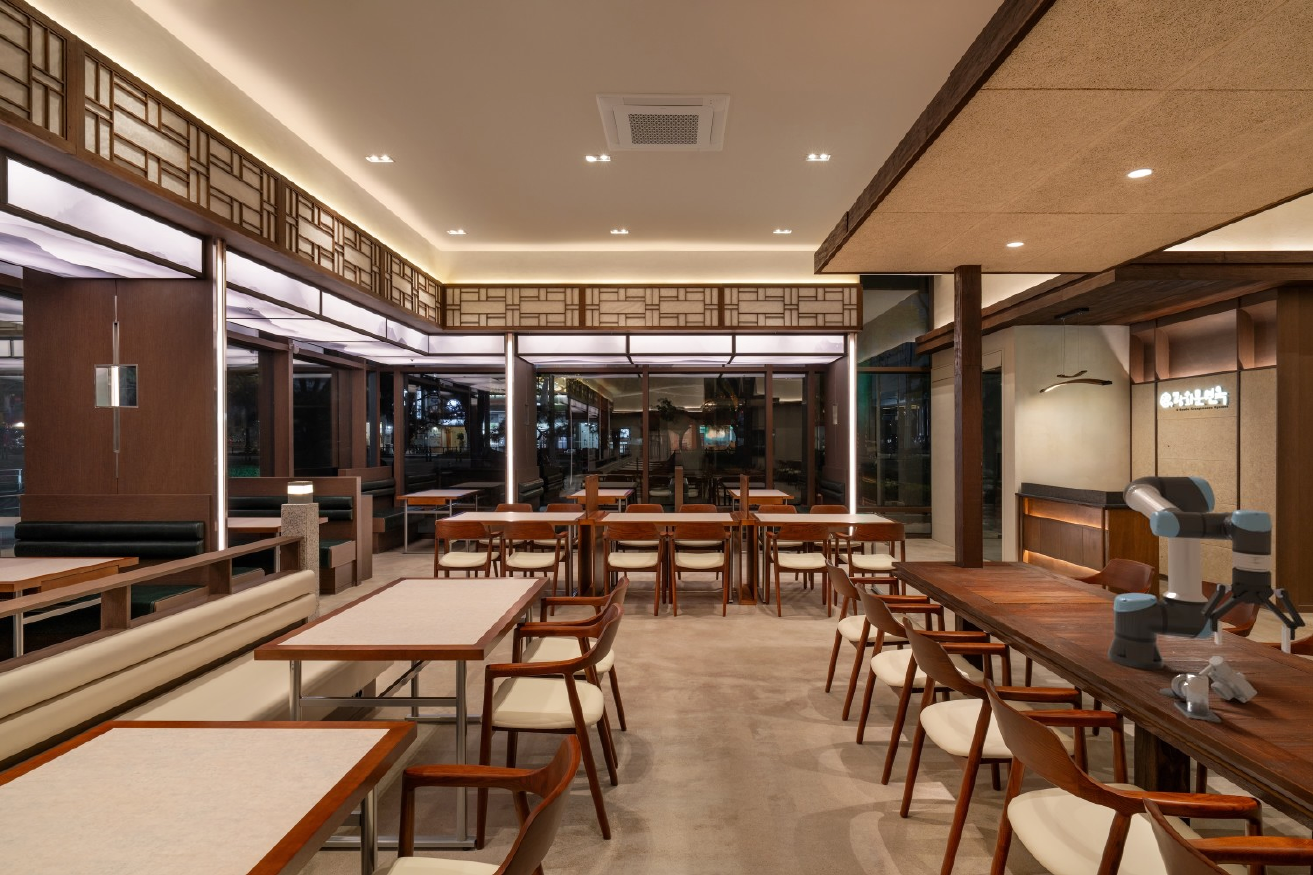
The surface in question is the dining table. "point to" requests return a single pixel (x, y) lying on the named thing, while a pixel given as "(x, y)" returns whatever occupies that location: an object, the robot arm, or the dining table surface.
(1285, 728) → the dining table surface
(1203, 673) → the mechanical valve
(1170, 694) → the grey round disc
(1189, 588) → the robot arm
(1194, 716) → the elbow fitting
